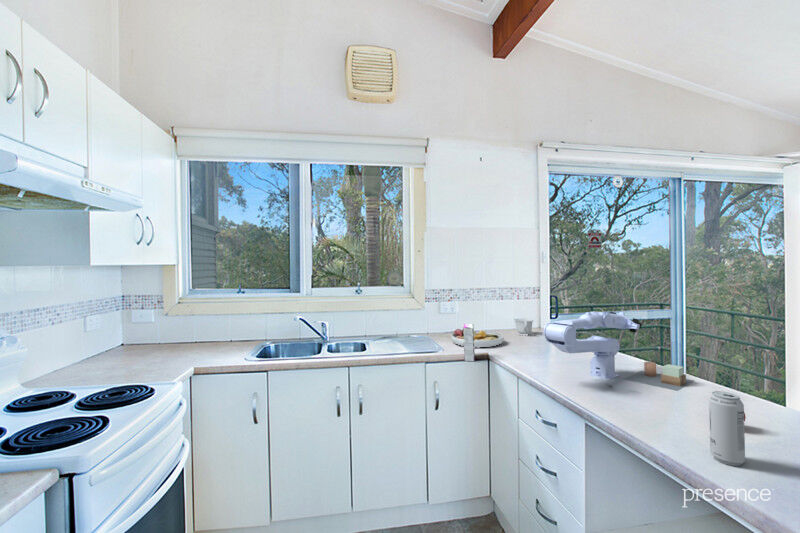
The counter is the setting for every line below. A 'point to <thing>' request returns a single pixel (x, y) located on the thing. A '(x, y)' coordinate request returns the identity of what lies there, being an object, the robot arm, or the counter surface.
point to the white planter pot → (523, 325)
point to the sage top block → (673, 370)
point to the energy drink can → (727, 428)
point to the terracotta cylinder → (650, 369)
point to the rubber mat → (654, 381)
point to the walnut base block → (673, 380)
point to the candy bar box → (469, 342)
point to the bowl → (478, 338)
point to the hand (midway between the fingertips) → (631, 322)
